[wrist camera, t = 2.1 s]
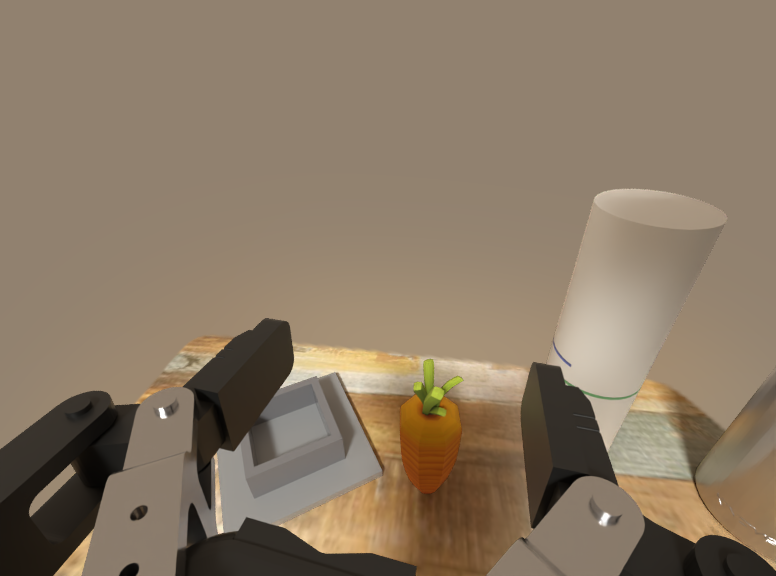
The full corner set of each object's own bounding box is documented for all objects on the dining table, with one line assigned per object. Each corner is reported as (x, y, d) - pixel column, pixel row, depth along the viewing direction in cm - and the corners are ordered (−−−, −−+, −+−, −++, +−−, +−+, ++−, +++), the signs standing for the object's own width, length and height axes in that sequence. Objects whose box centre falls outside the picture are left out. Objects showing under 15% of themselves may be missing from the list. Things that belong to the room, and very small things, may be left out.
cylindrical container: (570, 406, 41) (653, 184, 27) (620, 464, 35) (759, 220, 21) (513, 421, 39) (570, 195, 25) (555, 485, 33) (659, 237, 20)
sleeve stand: (335, 376, 45) (332, 353, 43) (382, 475, 34) (381, 450, 32) (216, 419, 40) (205, 395, 38) (227, 549, 30) (213, 526, 27)
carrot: (410, 456, 36) (411, 343, 28) (459, 476, 34) (476, 360, 26) (390, 504, 32) (385, 390, 24) (444, 529, 30) (458, 414, 22)
